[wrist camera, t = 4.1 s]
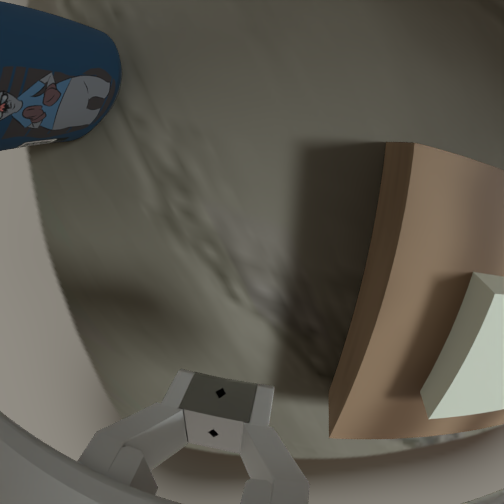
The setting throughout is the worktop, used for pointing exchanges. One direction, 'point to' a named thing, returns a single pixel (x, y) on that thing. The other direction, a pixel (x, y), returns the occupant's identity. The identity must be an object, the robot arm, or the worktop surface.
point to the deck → (416, 291)
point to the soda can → (52, 77)
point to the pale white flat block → (471, 355)
